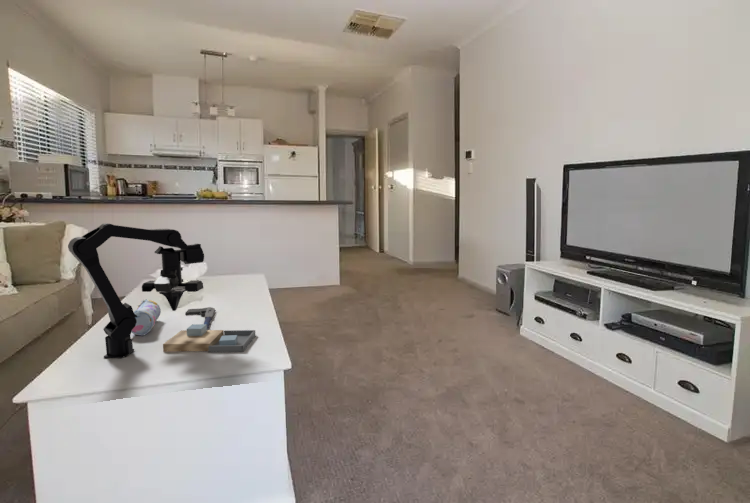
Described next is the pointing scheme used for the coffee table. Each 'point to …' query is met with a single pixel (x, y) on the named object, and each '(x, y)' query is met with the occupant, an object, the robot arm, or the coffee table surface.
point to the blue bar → (203, 314)
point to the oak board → (192, 341)
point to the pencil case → (146, 317)
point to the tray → (243, 341)
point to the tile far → (196, 329)
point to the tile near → (228, 340)
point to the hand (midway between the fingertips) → (174, 310)
